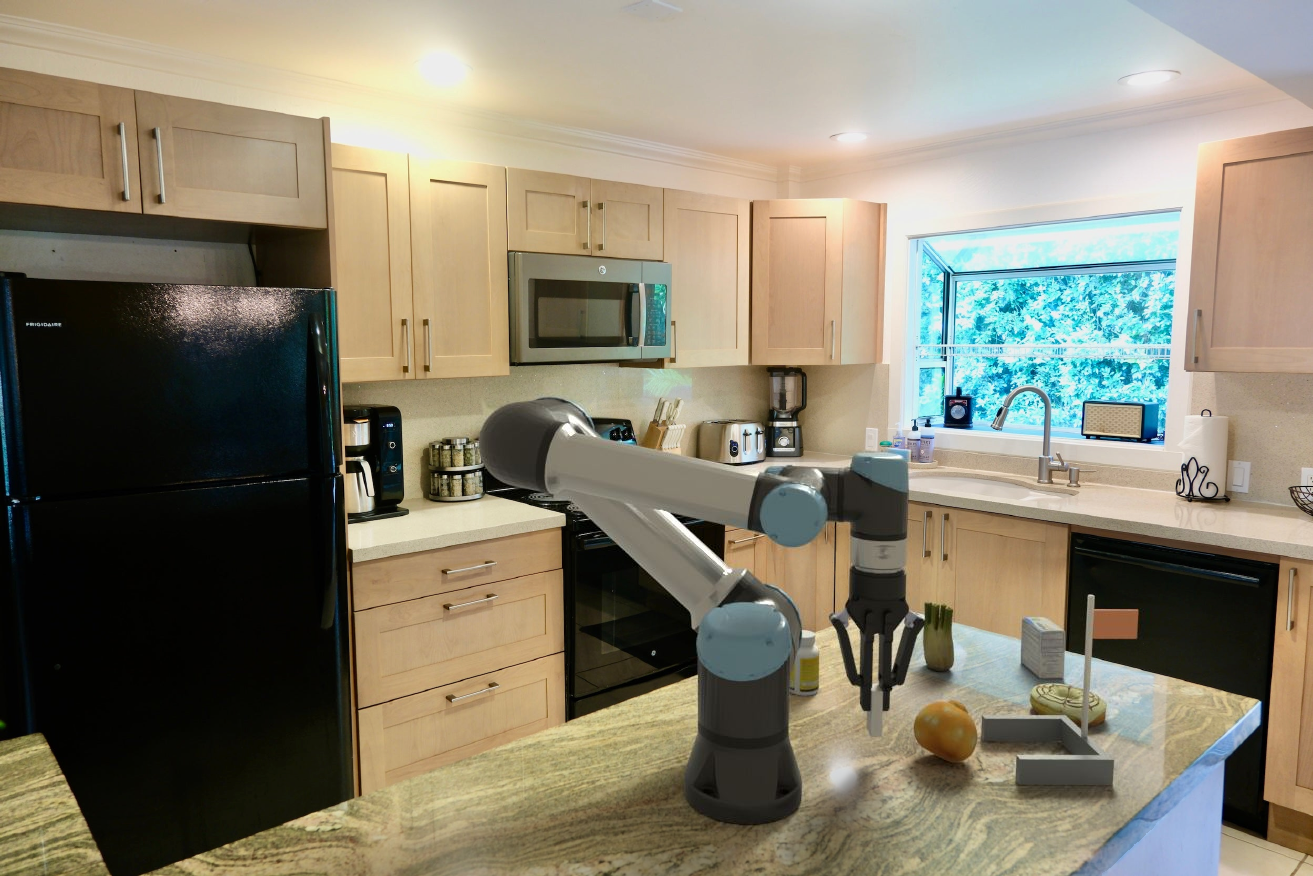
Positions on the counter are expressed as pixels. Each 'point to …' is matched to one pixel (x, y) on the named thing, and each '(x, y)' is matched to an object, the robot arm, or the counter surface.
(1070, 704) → the decorated donut
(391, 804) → the counter surface
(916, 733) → the fruit
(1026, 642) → the medicine box
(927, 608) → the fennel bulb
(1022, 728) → the flagpole corner frame
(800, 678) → the supplement bottle
